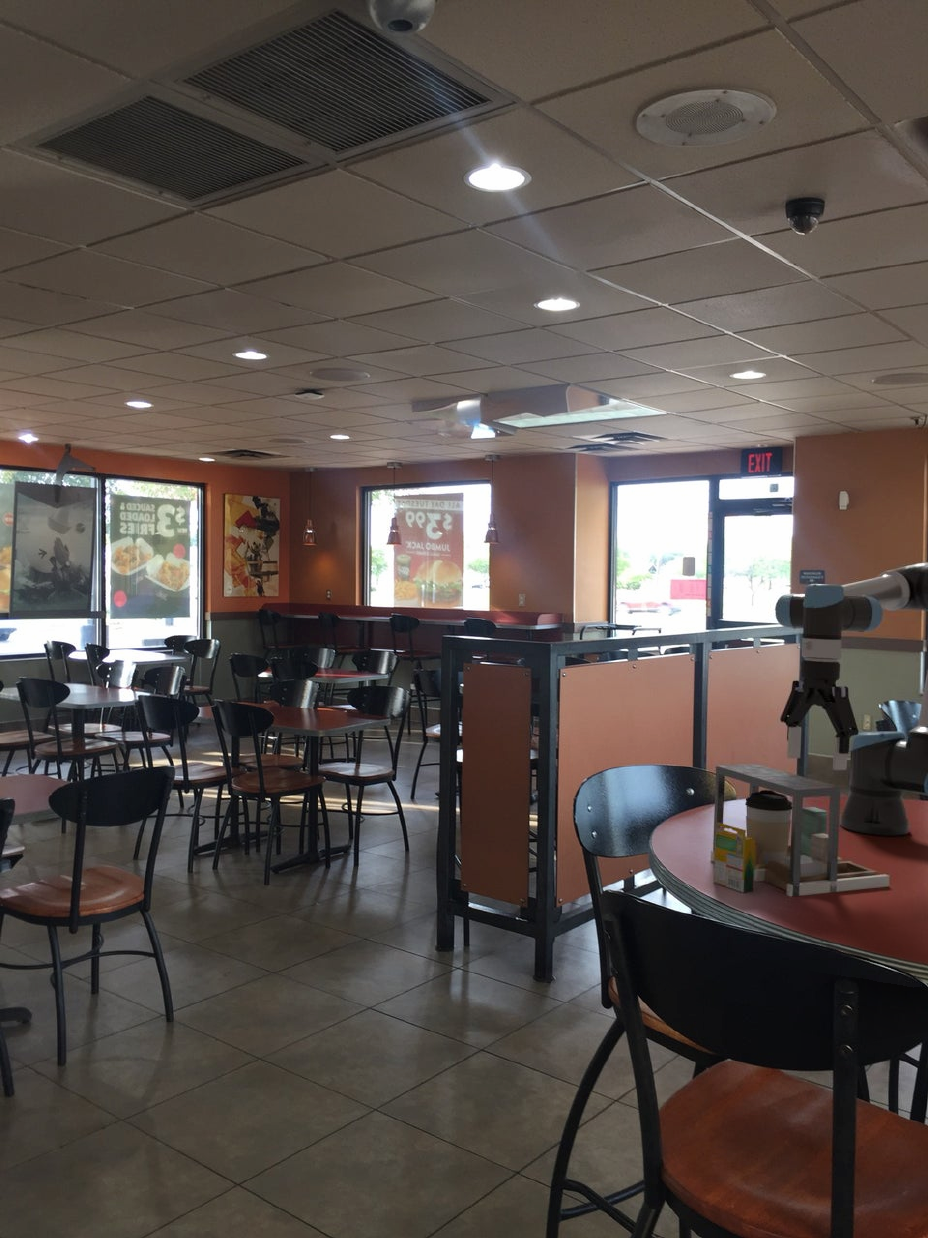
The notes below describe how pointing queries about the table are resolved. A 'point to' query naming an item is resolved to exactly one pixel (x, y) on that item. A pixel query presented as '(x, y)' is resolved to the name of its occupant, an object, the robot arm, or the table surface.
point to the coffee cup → (769, 823)
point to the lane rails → (828, 883)
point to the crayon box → (734, 858)
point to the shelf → (798, 790)
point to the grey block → (807, 866)
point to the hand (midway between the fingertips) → (815, 763)
